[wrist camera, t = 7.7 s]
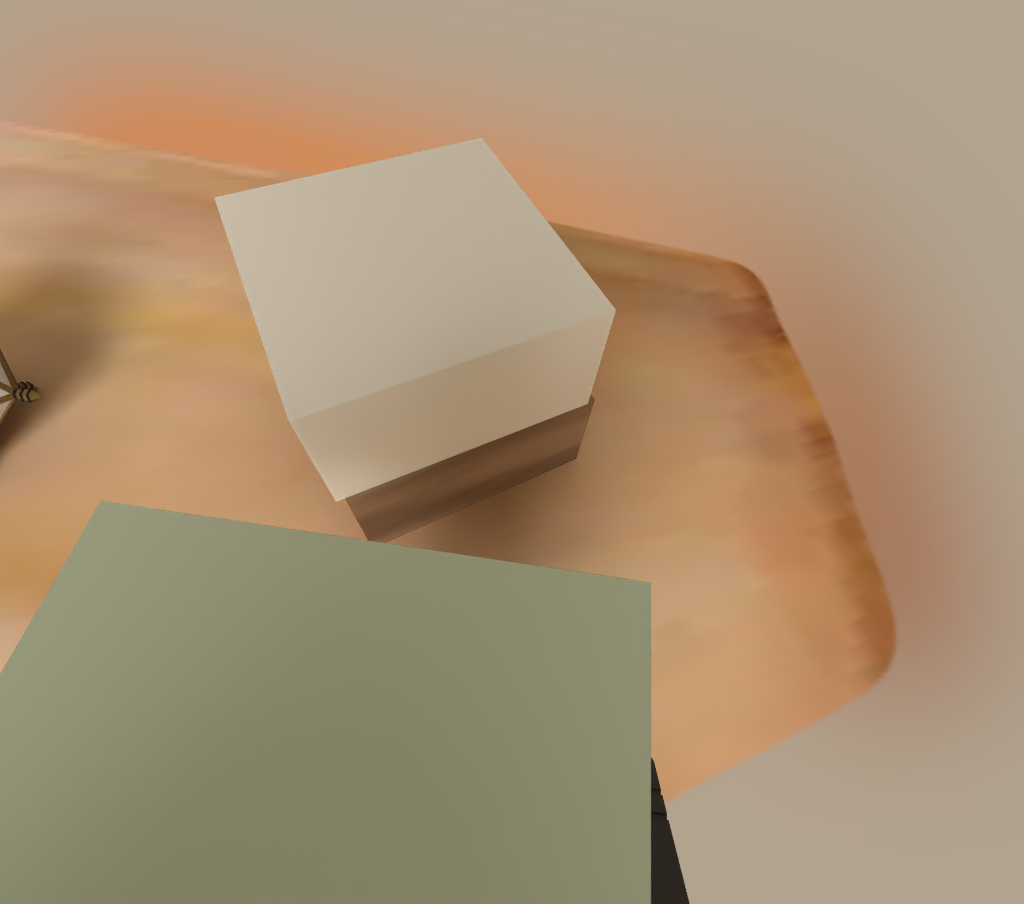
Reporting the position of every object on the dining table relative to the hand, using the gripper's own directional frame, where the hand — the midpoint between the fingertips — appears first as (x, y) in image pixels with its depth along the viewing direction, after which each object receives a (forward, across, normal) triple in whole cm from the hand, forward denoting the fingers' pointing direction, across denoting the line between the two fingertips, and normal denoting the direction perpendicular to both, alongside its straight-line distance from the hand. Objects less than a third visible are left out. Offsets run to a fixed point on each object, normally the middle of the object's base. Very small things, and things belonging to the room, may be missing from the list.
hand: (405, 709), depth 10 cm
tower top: (+13, +3, -5) cm, 15 cm away
